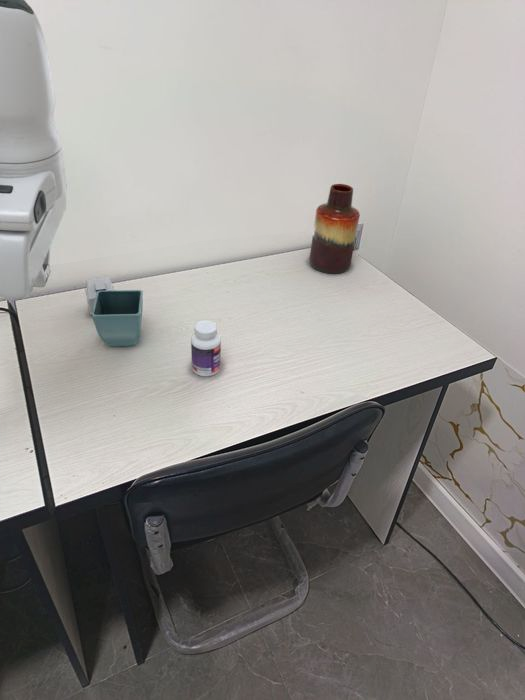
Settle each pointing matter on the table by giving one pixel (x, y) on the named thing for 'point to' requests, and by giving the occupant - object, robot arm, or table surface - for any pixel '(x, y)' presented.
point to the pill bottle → (206, 349)
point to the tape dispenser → (96, 289)
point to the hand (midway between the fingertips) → (40, 280)
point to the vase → (334, 231)
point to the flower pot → (118, 316)
